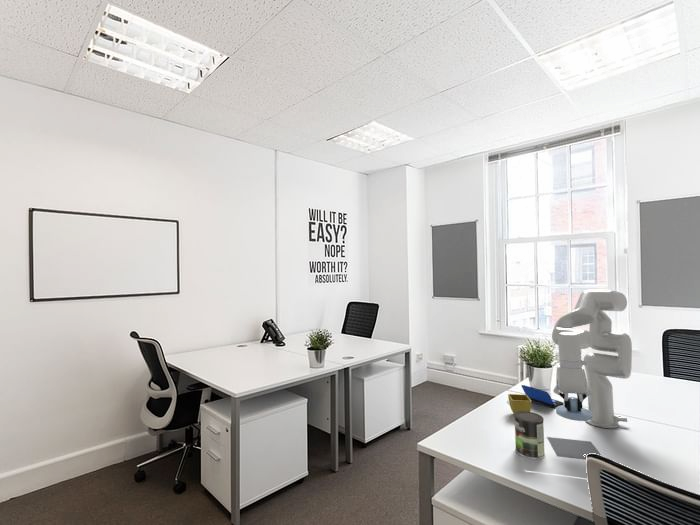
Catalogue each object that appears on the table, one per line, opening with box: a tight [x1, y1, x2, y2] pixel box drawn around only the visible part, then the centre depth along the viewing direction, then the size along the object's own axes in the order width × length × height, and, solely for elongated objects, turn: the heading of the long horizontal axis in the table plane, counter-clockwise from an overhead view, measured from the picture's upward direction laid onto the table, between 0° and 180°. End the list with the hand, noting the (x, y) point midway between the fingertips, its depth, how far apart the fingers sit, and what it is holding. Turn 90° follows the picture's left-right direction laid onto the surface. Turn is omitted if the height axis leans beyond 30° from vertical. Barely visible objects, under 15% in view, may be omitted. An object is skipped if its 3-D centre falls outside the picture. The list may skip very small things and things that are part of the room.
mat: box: [546, 436, 602, 460], centre depth 137 cm, size 16×16×1 cm
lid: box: [555, 396, 592, 422], centre depth 138 cm, size 12×12×6 cm
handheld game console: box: [521, 384, 564, 409], centre depth 186 cm, size 16×13×9 cm
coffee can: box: [513, 411, 546, 460], centre depth 136 cm, size 10×10×14 cm
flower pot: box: [507, 393, 533, 415], centre depth 170 cm, size 9×9×9 cm
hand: (573, 409), depth 138 cm, fingers closed on lid, 3 cm apart
